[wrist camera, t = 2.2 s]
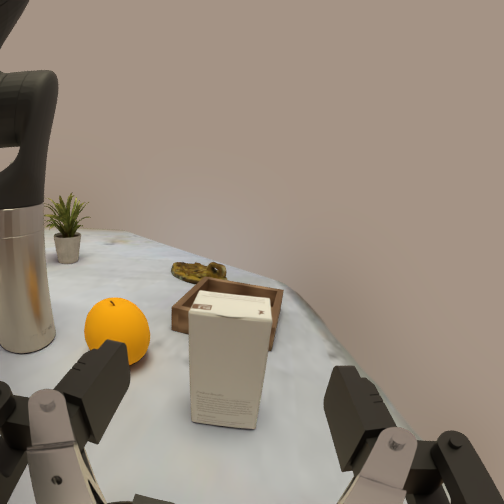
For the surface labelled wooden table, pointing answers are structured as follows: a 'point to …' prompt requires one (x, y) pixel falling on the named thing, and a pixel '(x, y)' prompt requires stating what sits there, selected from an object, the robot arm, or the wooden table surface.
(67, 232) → the house plant
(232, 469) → the wooden table surface
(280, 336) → the wooden table surface
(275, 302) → the walnut box
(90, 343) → the orange
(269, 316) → the skincare box
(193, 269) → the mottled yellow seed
